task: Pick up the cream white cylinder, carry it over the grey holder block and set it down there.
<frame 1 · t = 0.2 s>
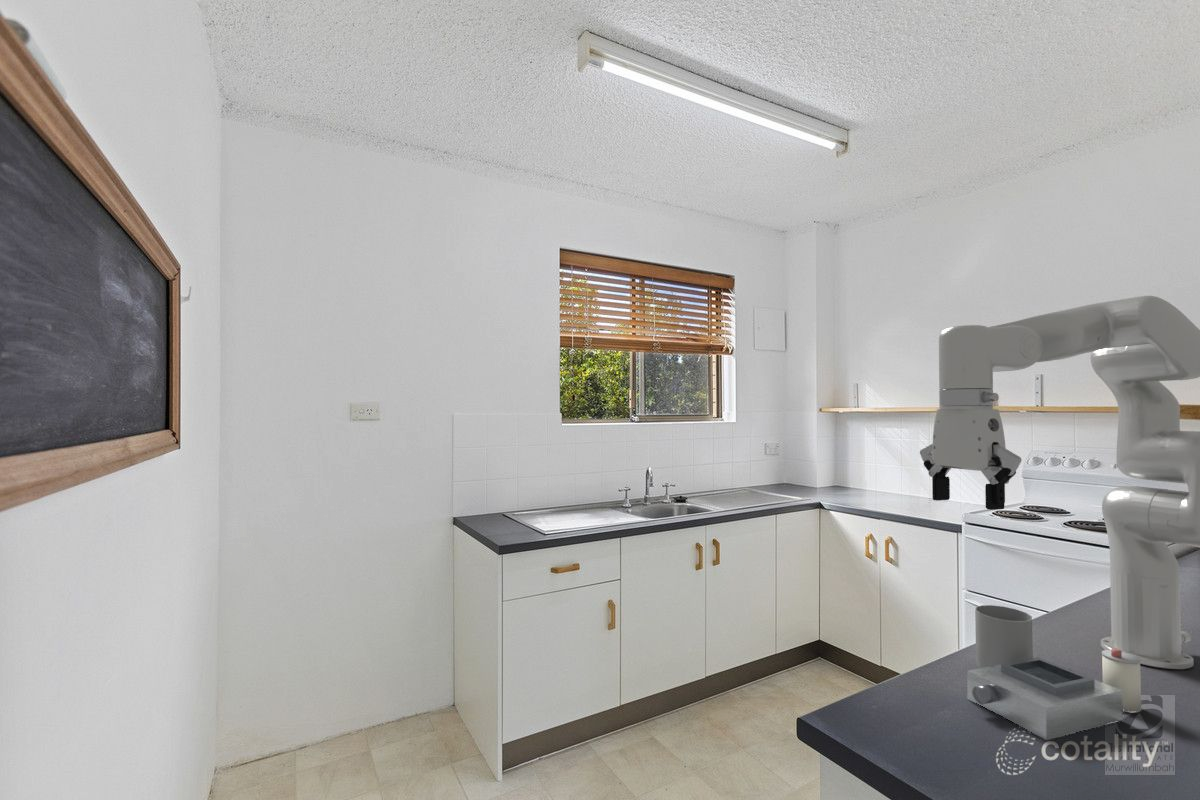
hand: (966, 504, 94), 31 cm above the countertop, tool pointing down, fingers open, 9 cm apart
grey holder block: (1042, 709, 88), on the countertop
cup: (1004, 670, 102), on the countertop
cream white cylinder: (1121, 706, 89), on the countertop
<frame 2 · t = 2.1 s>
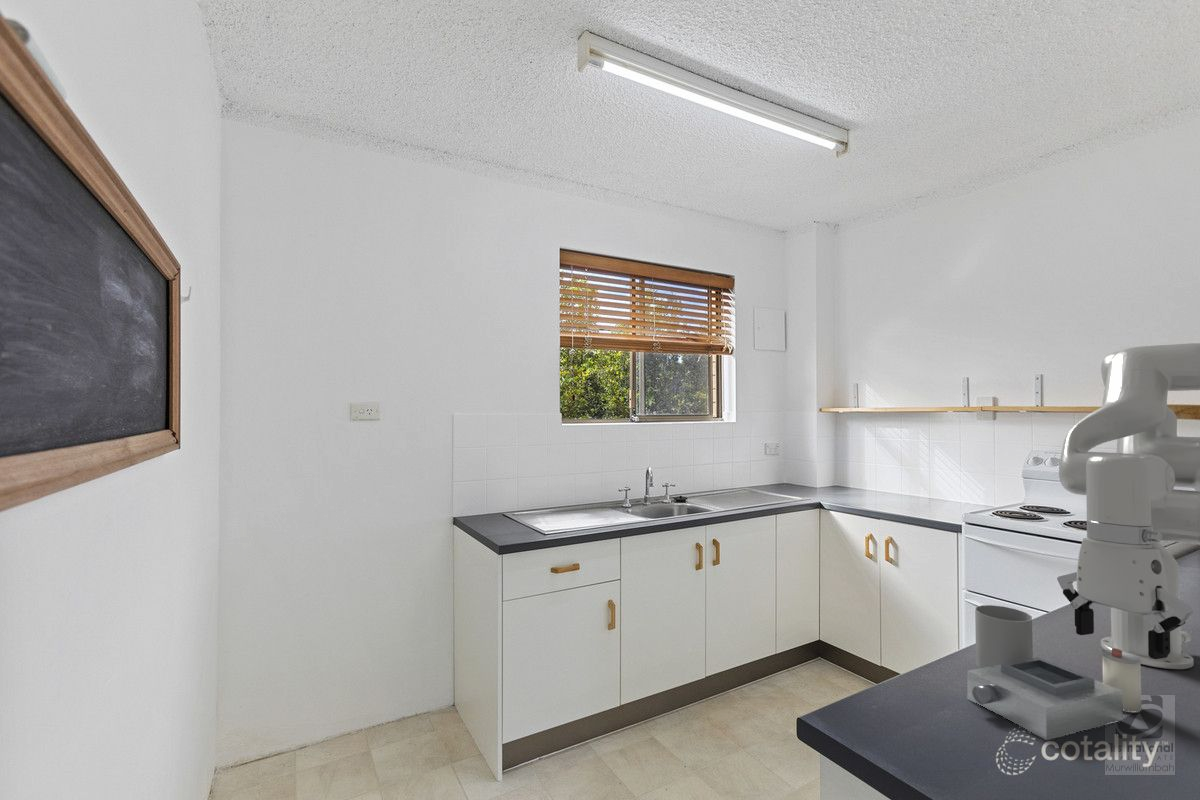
hand: (1119, 645, 89), 10 cm above the countertop, tool pointing down, fingers open, 9 cm apart
nothing on the countertop moved.
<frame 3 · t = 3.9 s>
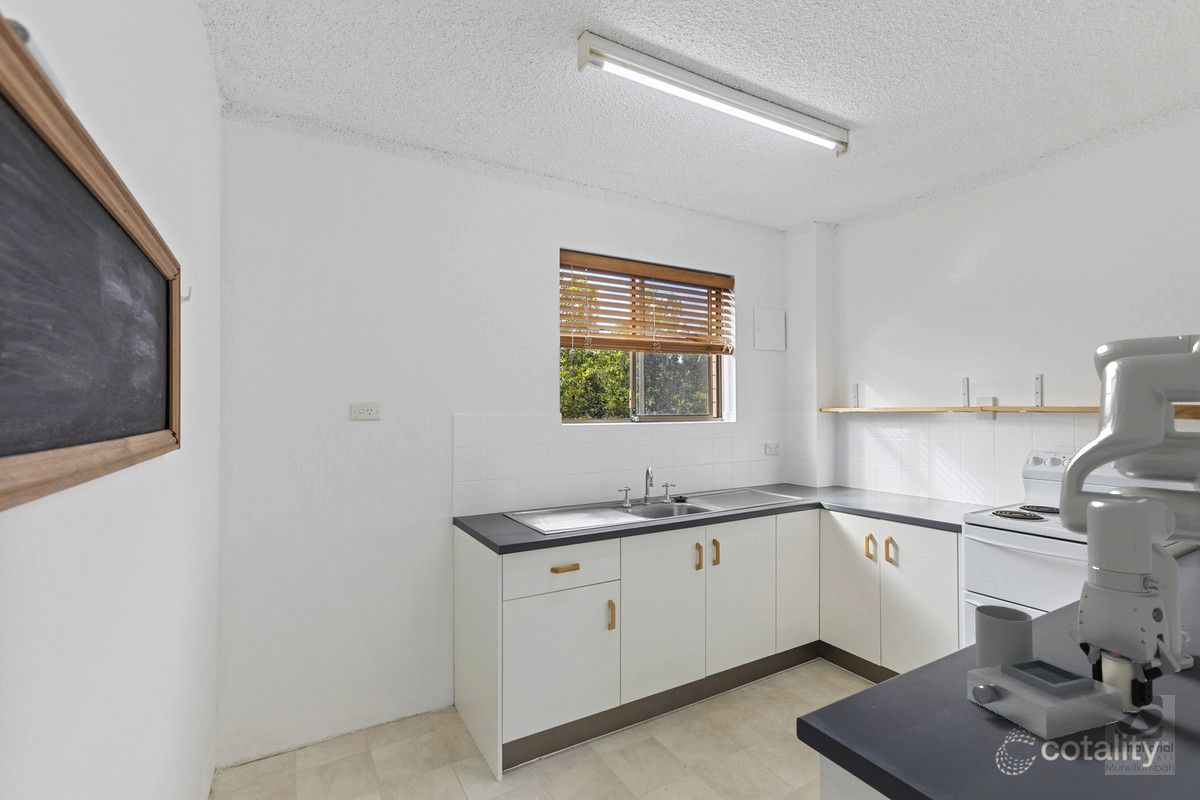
hand: (1121, 696, 89), 2 cm above the countertop, tool pointing down, fingers closed on cream white cylinder, 4 cm apart
cream white cylinder: (1121, 705, 89), on the countertop, touching gripper
everything else where it was.
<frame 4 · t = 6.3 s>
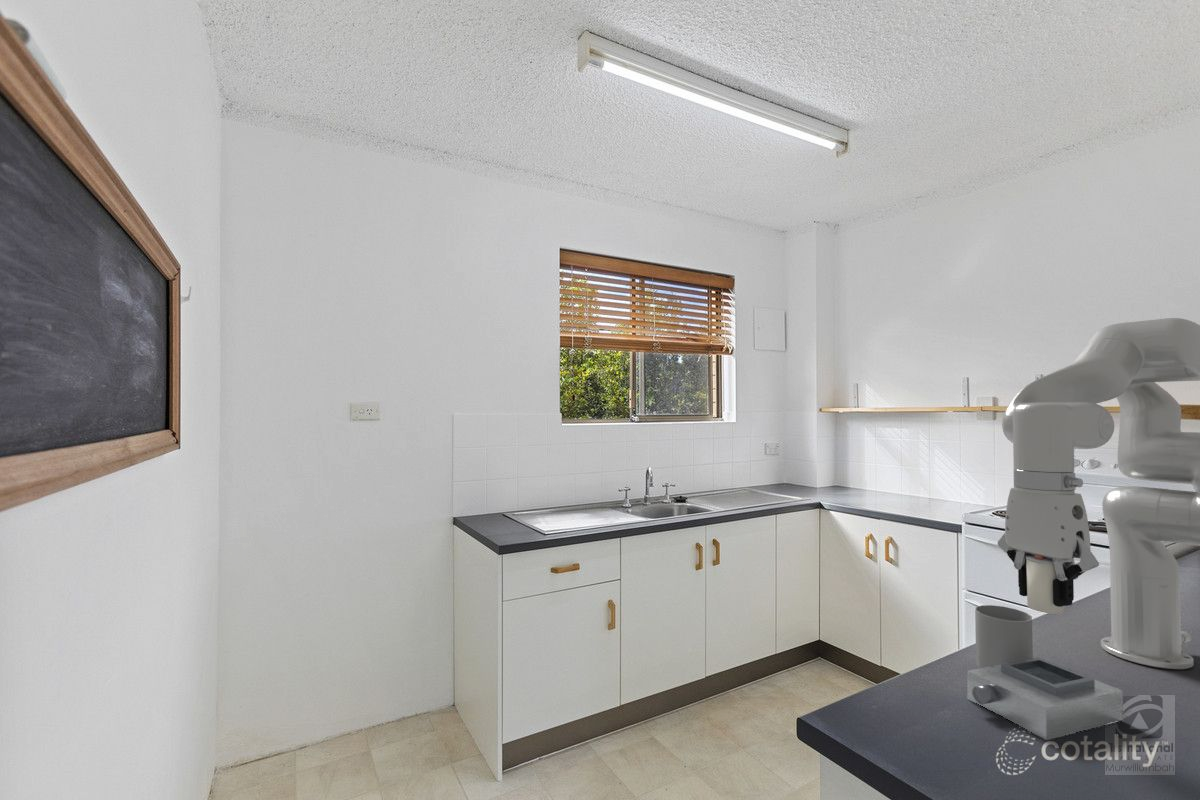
hand: (1045, 598, 88), 17 cm above the countertop, tool pointing down, fingers closed on cream white cylinder, 4 cm apart
cream white cylinder: (1045, 608, 88), point 15 cm above the countertop, touching gripper
everything else where it was.
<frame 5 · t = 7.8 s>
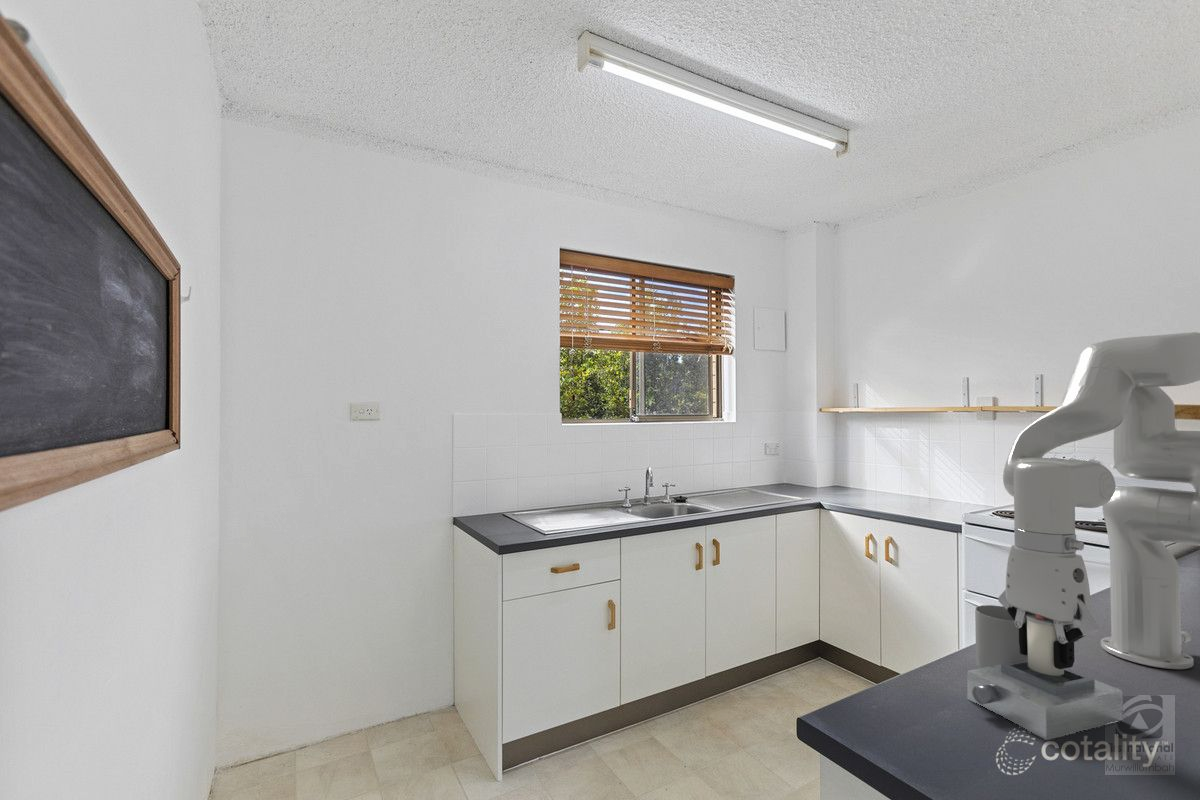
hand: (1045, 659, 88), 8 cm above the countertop, tool pointing down, fingers closed on cream white cylinder, 4 cm apart
cream white cylinder: (1045, 669, 88), point 6 cm above the countertop, touching gripper
everything else where it was.
when the fingers open (6 cm above the countertop, at t = 8.9 s): cream white cylinder drops 3 cm, resting on grey holder block.
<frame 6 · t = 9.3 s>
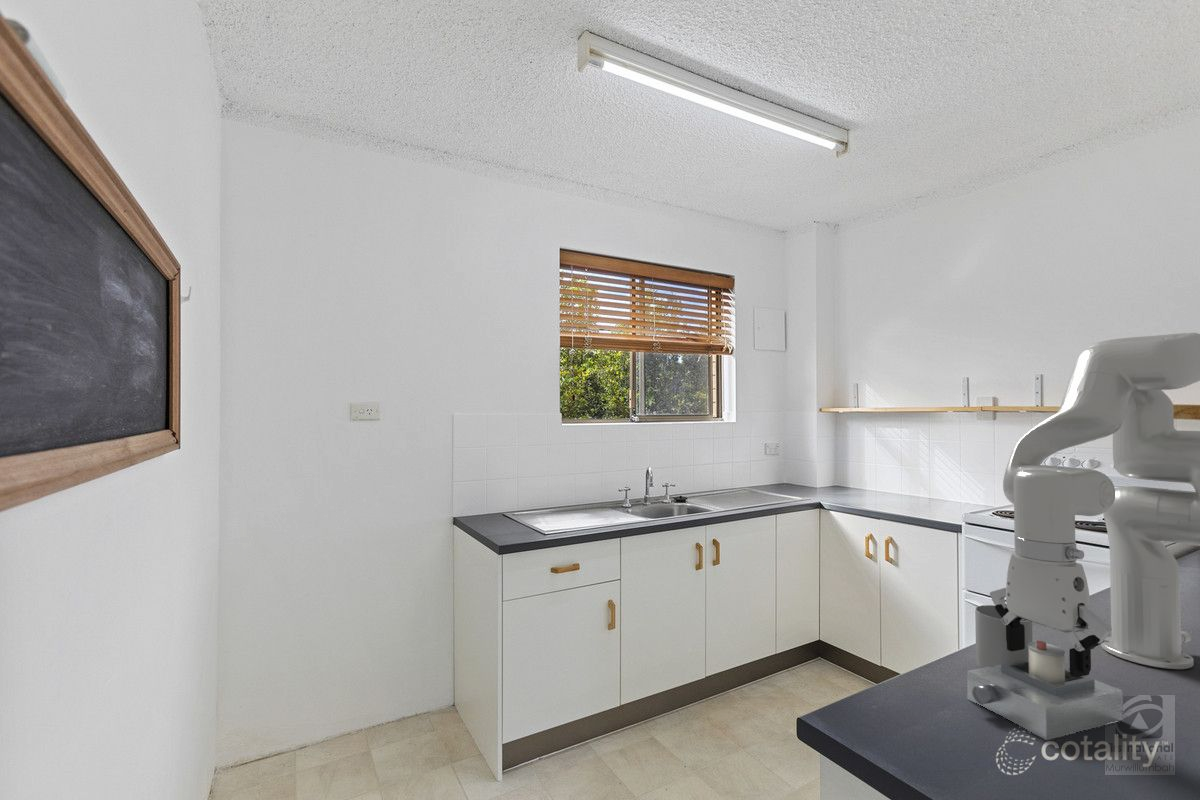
hand: (1046, 661, 88), 7 cm above the countertop, tool pointing down, fingers open, 9 cm apart
cream white cylinder: (1046, 698, 88), point 2 cm above the countertop, touching grey holder block
everything else where it was.
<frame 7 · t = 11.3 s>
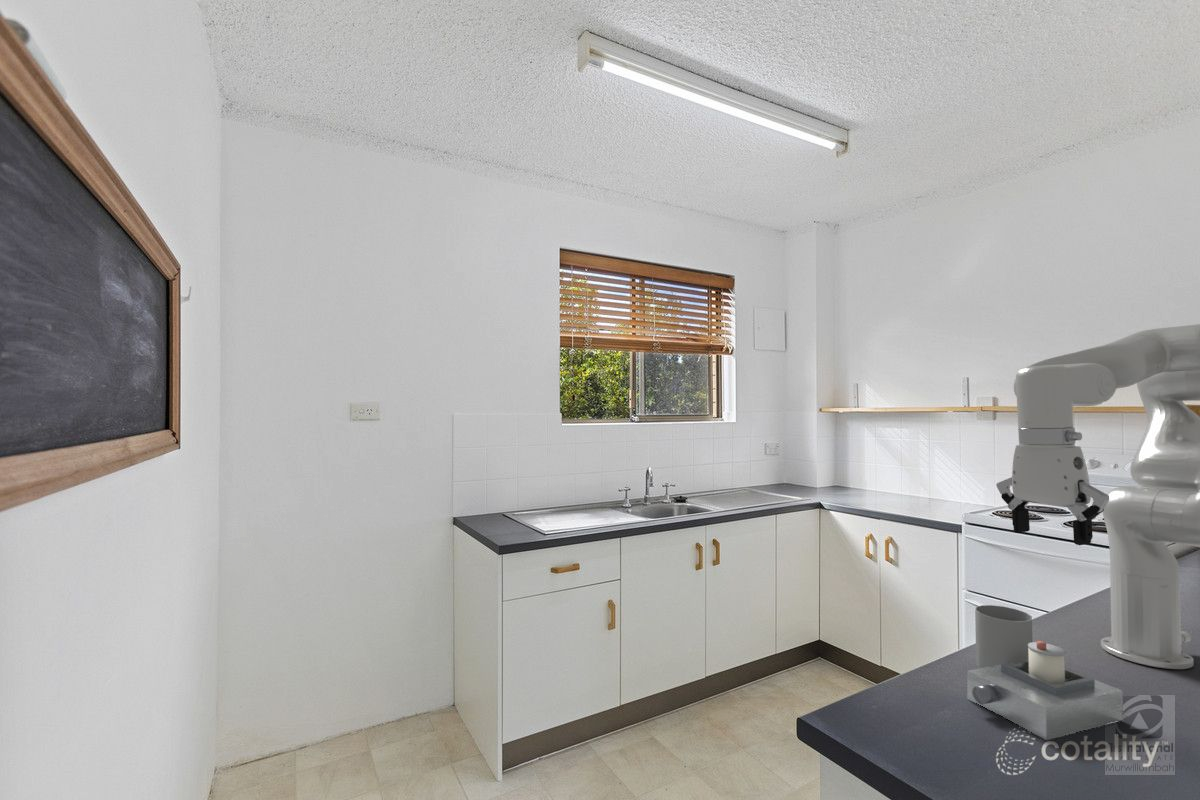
hand: (1050, 537, 98), 24 cm above the countertop, tool pointing down, fingers open, 9 cm apart
nothing on the countertop moved.
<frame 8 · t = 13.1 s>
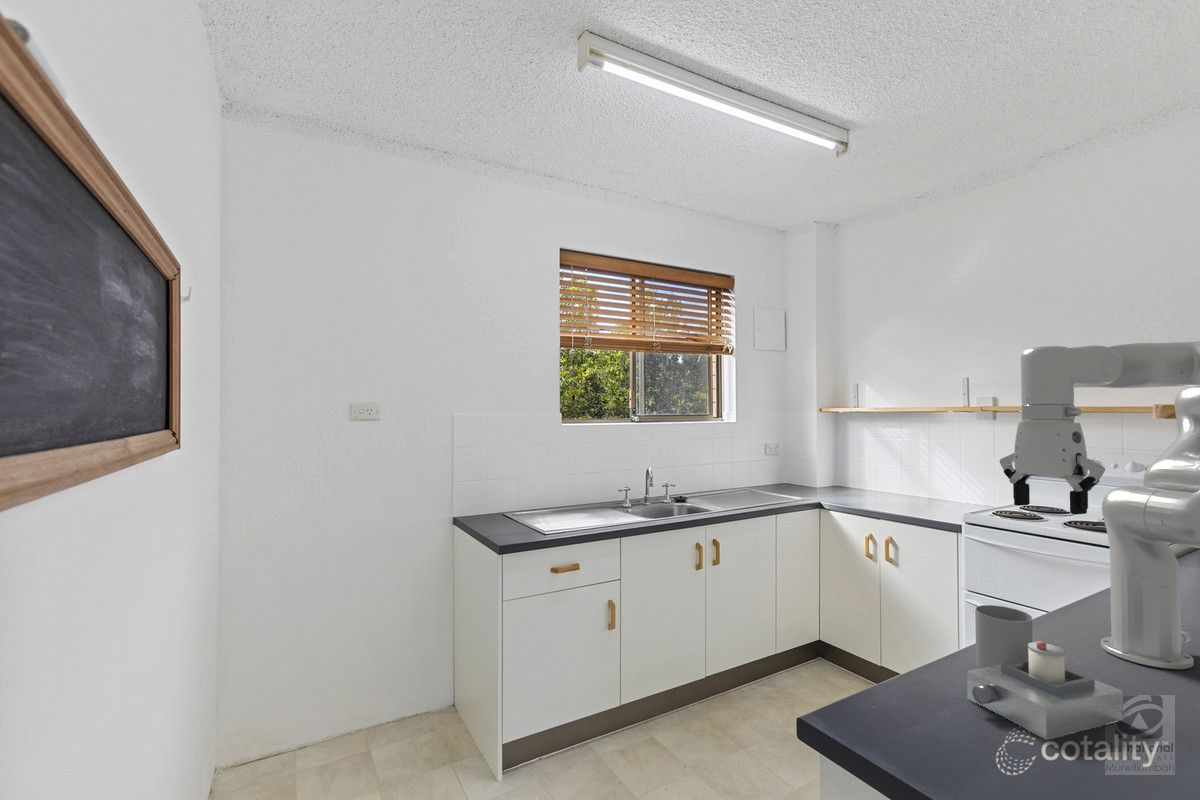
hand: (1048, 509, 103), 28 cm above the countertop, tool pointing down, fingers open, 9 cm apart
nothing on the countertop moved.
at the end: cream white cylinder 0.1 cm from the target spot on the grey holder block, point 1.5 cm above the grey holder block's base; cream white cylinder tilted 0°; the gripper is holding nothing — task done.
